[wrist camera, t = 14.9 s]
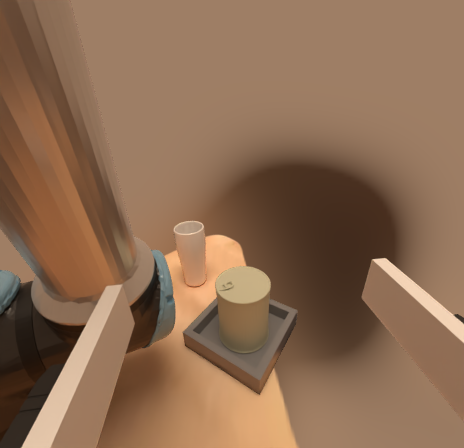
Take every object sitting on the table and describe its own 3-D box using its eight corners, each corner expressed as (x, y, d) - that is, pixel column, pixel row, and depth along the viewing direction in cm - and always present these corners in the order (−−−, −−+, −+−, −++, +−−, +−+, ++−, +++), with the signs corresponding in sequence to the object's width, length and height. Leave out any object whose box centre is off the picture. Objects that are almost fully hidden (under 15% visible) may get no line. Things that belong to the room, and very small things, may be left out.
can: (213, 319, 47) (208, 270, 42) (255, 306, 50) (256, 259, 44) (228, 361, 39) (224, 308, 34) (278, 343, 42) (281, 291, 36)
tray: (185, 345, 43) (182, 332, 42) (231, 294, 54) (231, 282, 53) (259, 394, 36) (259, 380, 34) (296, 323, 47) (297, 310, 45)
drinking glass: (182, 292, 56) (173, 236, 49) (181, 274, 62) (172, 222, 55) (211, 286, 57) (205, 232, 50) (207, 270, 63) (202, 218, 56)
